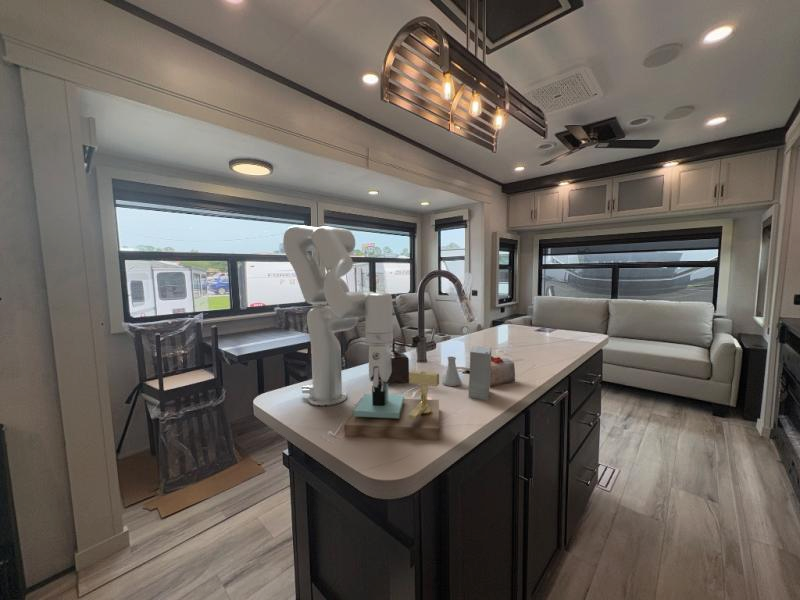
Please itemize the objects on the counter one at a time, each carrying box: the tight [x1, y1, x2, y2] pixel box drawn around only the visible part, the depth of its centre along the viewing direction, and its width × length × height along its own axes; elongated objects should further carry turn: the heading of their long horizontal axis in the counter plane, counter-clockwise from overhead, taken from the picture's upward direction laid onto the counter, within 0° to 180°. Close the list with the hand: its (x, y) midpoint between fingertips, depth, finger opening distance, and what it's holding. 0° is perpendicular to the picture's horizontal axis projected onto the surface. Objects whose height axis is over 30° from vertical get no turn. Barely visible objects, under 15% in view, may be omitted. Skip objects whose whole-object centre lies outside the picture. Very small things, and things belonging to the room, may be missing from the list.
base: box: [343, 398, 440, 441], centre depth 87 cm, size 24×18×3 cm
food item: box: [490, 355, 516, 388], centre depth 117 cm, size 14×8×10 cm, turn 116°
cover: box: [353, 383, 405, 418], centre depth 87 cm, size 12×12×6 cm
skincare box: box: [468, 345, 492, 400], centre depth 105 cm, size 8×7×16 cm
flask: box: [441, 356, 462, 387], centre depth 117 cm, size 7×7×10 cm
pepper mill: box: [387, 334, 422, 385], centre depth 123 cm, size 16×11×18 cm
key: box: [408, 369, 440, 420], centre depth 82 cm, size 11×8×11 cm
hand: (380, 401), depth 87 cm, fingers closed on cover, 3 cm apart
